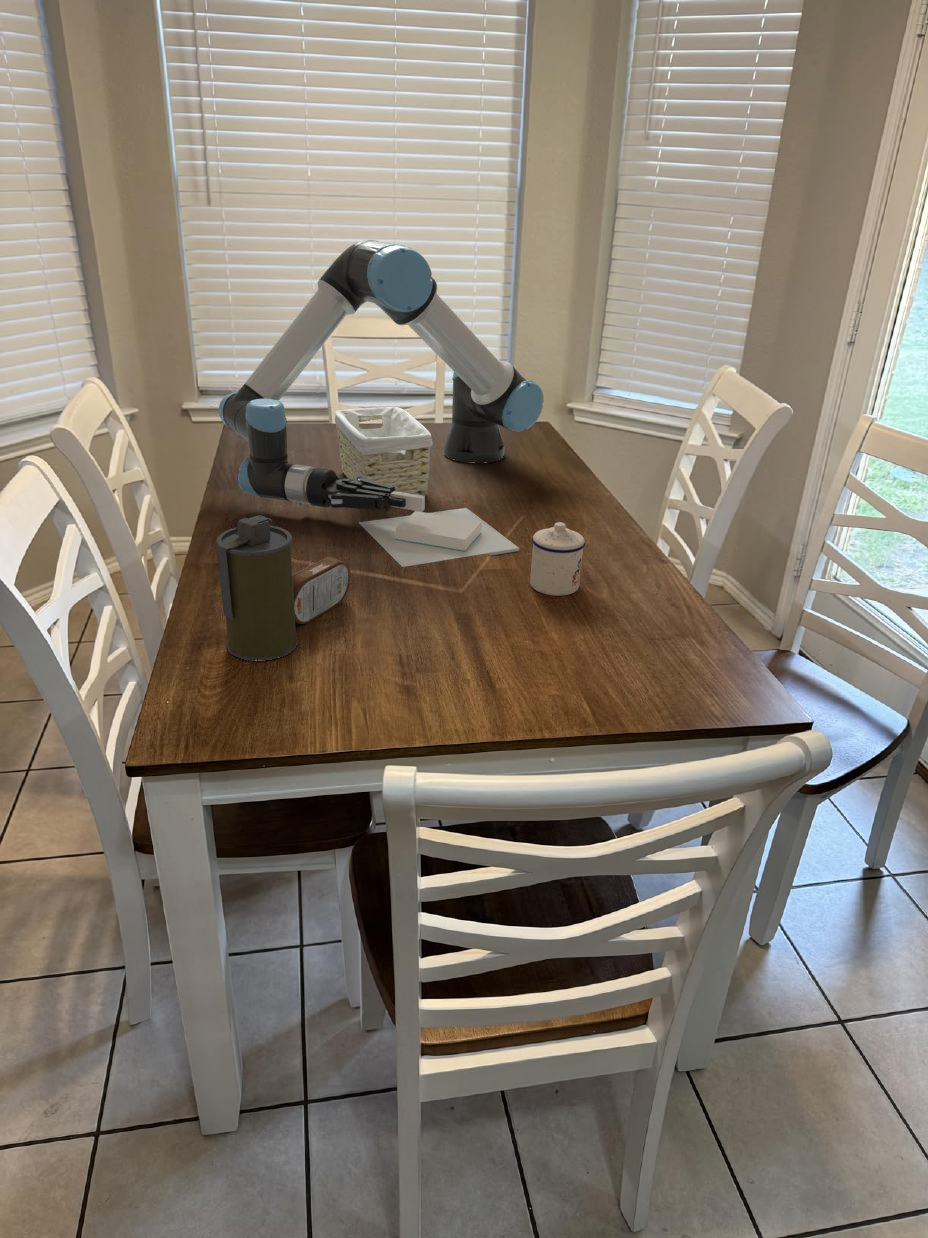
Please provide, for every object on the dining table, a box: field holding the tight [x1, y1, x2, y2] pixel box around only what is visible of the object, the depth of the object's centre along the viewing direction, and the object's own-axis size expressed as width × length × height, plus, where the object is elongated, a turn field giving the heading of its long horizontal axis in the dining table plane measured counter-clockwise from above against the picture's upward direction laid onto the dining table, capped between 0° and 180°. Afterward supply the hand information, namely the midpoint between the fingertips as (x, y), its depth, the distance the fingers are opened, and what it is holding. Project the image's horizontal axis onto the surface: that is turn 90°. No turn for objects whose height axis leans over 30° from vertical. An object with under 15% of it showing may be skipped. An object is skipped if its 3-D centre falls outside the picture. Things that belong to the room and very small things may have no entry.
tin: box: [292, 556, 351, 625], centre depth 140 cm, size 15×3×8 cm, turn 149°
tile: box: [396, 511, 482, 552], centre depth 170 cm, size 2×10×14 cm
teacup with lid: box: [529, 521, 586, 597], centre depth 153 cm, size 12×9×12 cm
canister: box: [215, 514, 299, 661], centre depth 128 cm, size 11×10×20 cm
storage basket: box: [334, 406, 433, 497], centre depth 195 cm, size 24×16×15 cm
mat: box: [358, 507, 520, 568], centre depth 172 cm, size 24×23×1 cm
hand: (423, 503), depth 169 cm, fingers closed
